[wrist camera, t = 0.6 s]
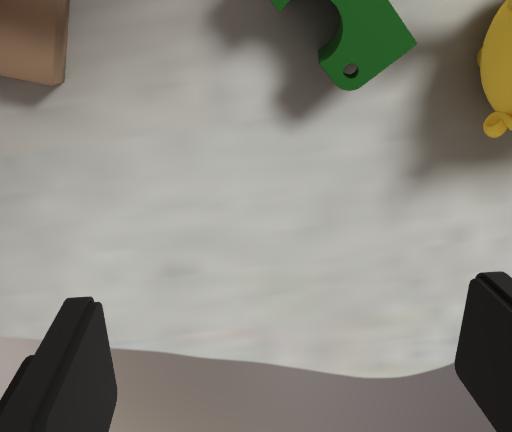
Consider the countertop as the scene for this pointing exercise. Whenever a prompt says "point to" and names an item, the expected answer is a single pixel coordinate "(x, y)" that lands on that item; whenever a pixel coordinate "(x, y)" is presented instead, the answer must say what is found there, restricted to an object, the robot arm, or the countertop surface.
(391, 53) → the clamp
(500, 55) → the teapot
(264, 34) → the countertop surface
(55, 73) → the post block
